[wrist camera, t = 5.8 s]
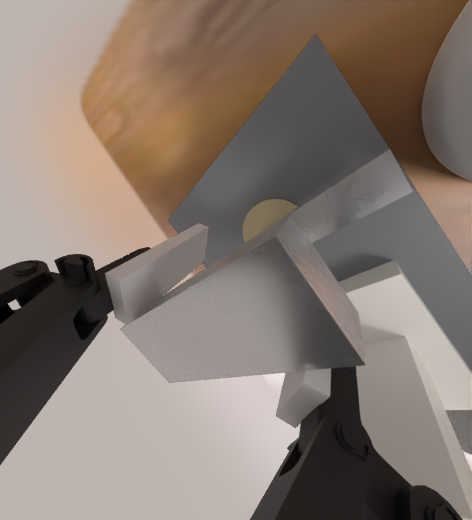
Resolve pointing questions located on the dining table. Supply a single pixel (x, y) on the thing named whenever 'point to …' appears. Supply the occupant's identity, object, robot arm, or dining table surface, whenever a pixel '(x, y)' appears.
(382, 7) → the dining table surface
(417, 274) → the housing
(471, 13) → the utensil holder
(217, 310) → the t key
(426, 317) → the cover
